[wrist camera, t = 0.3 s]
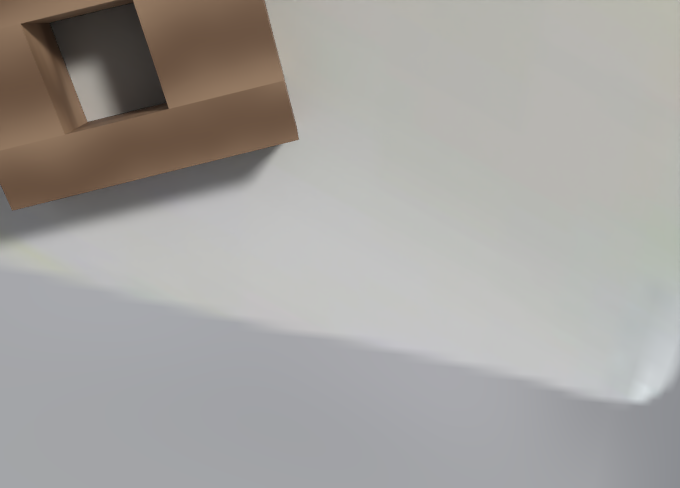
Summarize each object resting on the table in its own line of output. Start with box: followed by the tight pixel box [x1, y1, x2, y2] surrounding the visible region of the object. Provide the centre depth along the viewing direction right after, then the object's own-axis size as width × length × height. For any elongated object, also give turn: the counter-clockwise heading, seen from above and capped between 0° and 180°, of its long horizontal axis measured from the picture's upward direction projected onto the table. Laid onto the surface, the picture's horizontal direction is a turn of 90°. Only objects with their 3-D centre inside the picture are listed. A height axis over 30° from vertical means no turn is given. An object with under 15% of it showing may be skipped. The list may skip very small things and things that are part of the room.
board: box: [0, 0, 299, 211], centre depth 32 cm, size 15×16×4 cm
